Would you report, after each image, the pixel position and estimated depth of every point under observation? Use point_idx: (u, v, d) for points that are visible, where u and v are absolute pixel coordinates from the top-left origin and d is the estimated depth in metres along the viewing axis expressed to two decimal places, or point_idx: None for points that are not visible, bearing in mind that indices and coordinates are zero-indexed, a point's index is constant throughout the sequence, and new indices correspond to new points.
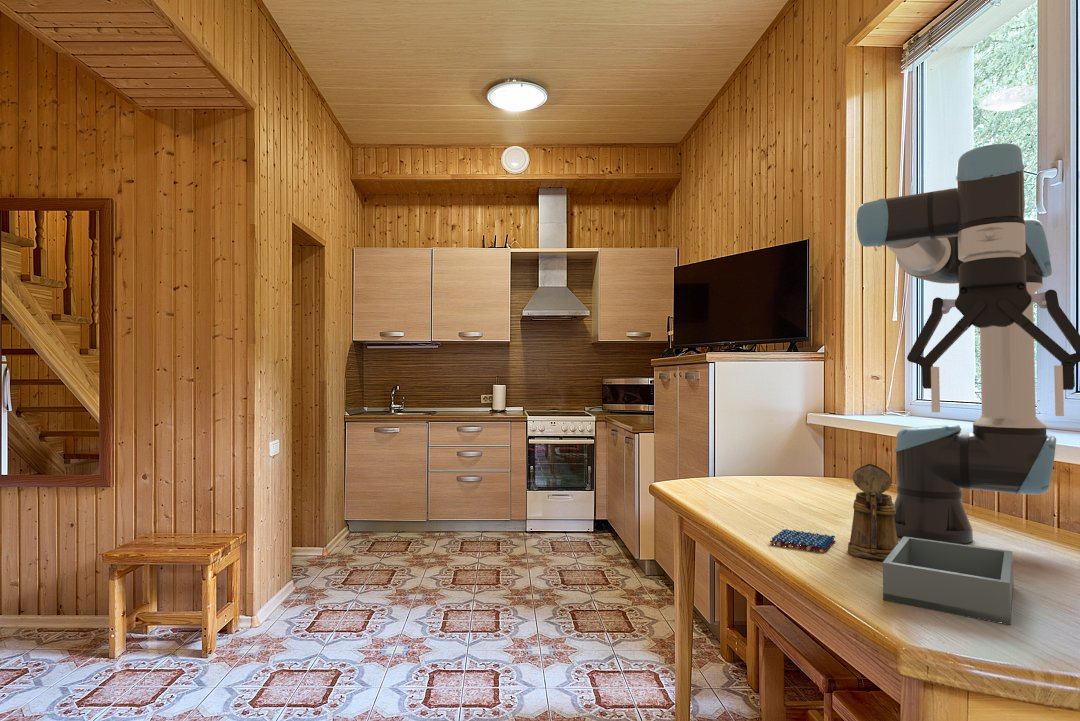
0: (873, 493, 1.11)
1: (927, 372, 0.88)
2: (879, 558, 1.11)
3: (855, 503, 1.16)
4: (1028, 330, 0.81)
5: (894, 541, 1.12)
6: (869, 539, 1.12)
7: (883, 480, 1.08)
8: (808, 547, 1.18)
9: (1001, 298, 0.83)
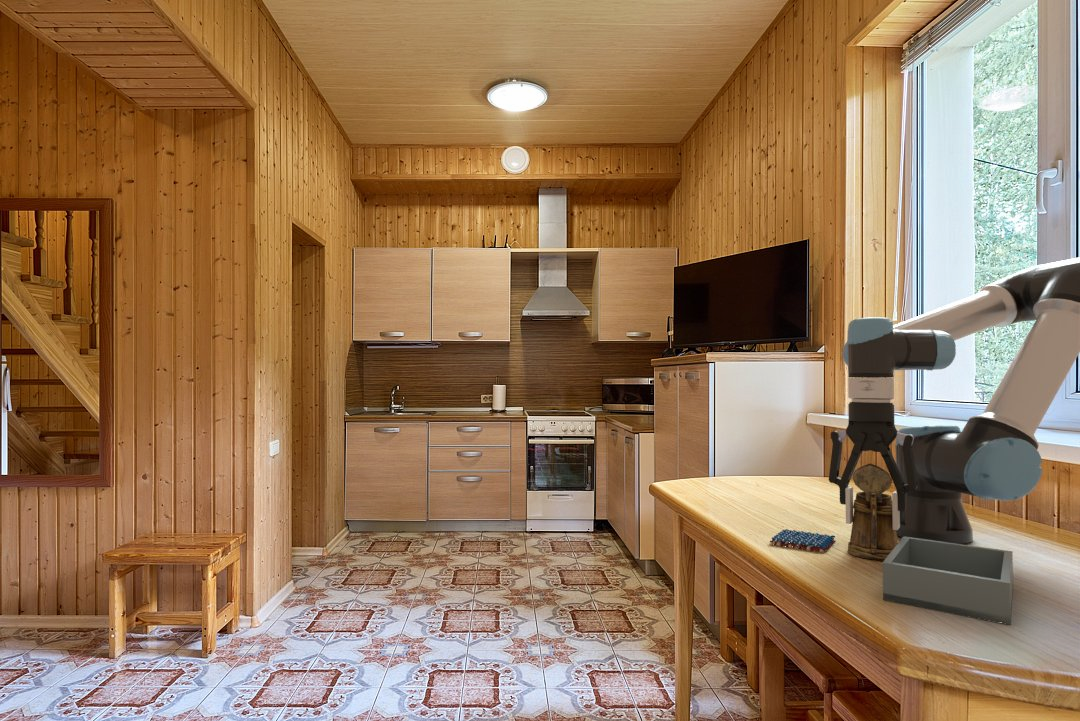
0: (873, 493, 1.11)
1: (843, 491, 1.16)
2: (879, 558, 1.11)
3: (855, 502, 1.16)
4: (885, 460, 1.11)
5: (894, 541, 1.12)
6: (869, 538, 1.12)
7: (883, 480, 1.08)
8: (808, 547, 1.18)
9: (877, 428, 1.12)
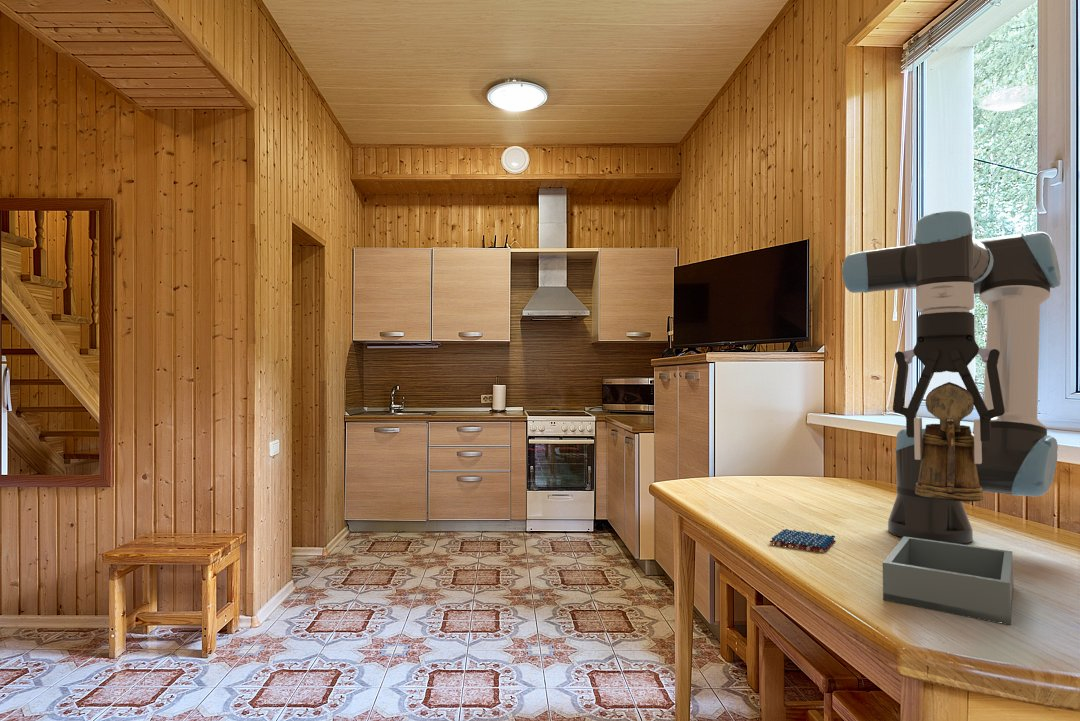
0: (951, 420, 0.92)
1: (911, 422, 0.97)
2: (958, 498, 0.92)
3: (925, 435, 0.97)
4: (964, 381, 0.93)
5: (975, 478, 0.93)
6: (945, 475, 0.94)
7: (964, 402, 0.90)
8: (808, 547, 1.18)
9: (954, 343, 0.94)
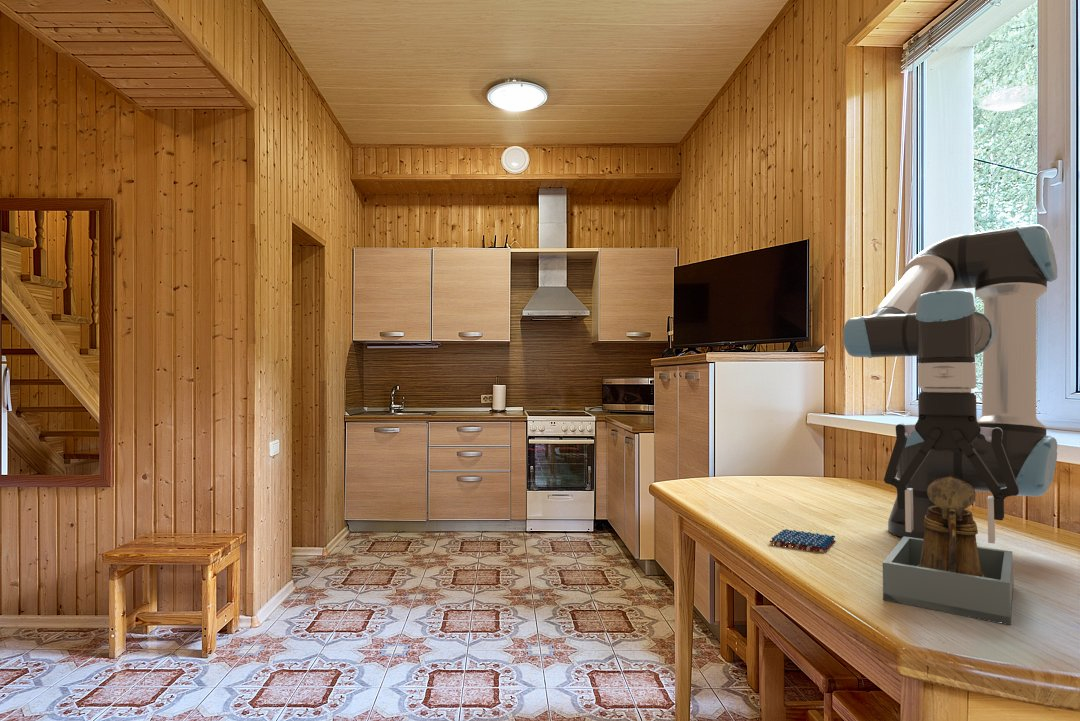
0: (952, 509, 0.91)
1: (902, 494, 0.98)
2: None
3: (927, 519, 0.97)
4: (971, 461, 0.92)
5: (977, 567, 0.93)
6: (946, 563, 0.93)
7: (966, 494, 0.89)
8: (808, 547, 1.18)
9: (955, 425, 0.93)
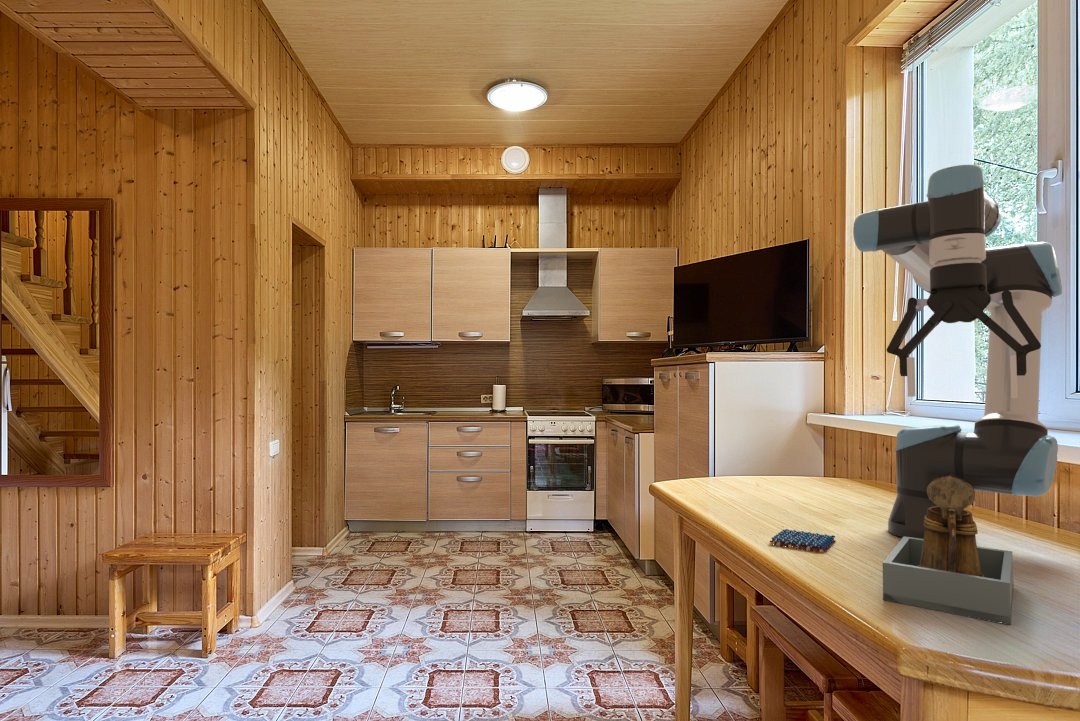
0: (952, 509, 0.92)
1: (904, 362, 1.03)
2: None
3: (926, 520, 0.97)
4: (988, 325, 0.95)
5: (977, 567, 0.93)
6: (946, 563, 0.93)
7: (965, 494, 0.89)
8: (808, 547, 1.18)
9: (965, 298, 0.97)
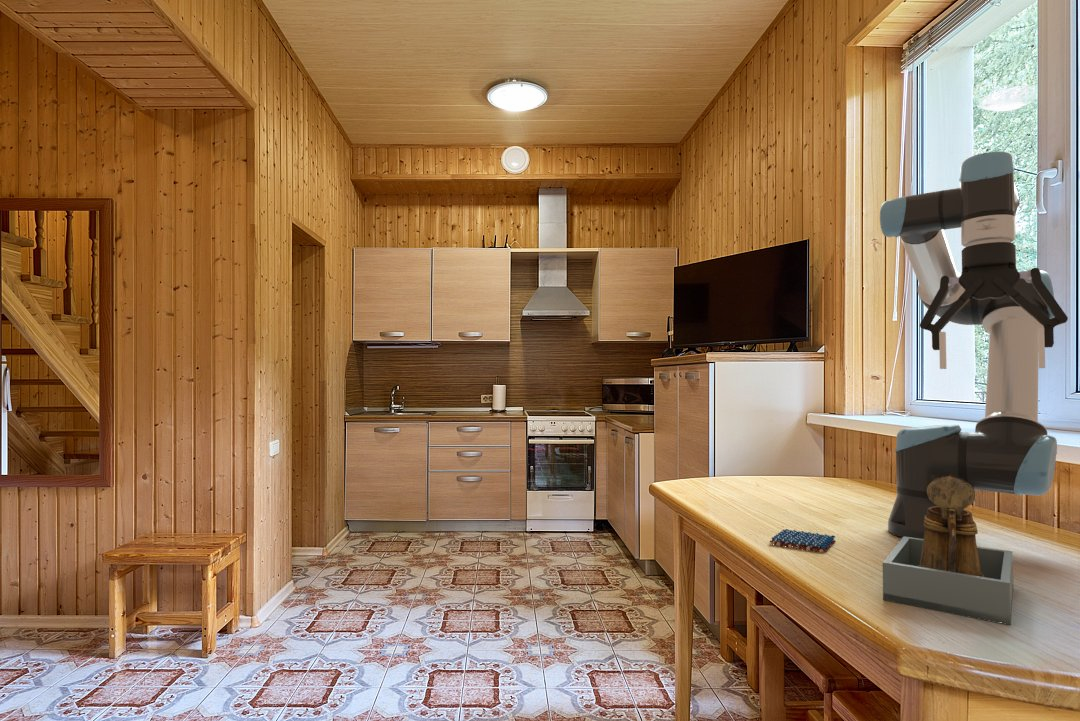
0: (952, 509, 0.92)
1: (936, 336, 1.09)
2: None
3: (926, 520, 0.97)
4: (1017, 300, 1.02)
5: (977, 567, 0.93)
6: (946, 563, 0.93)
7: (965, 494, 0.89)
8: (808, 547, 1.18)
9: (996, 275, 1.04)
